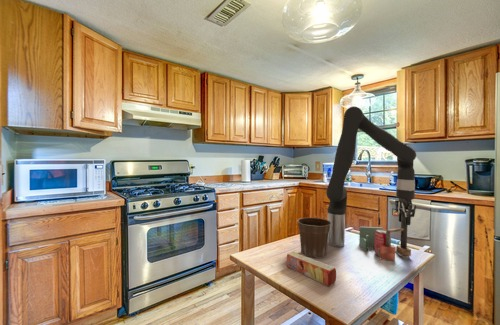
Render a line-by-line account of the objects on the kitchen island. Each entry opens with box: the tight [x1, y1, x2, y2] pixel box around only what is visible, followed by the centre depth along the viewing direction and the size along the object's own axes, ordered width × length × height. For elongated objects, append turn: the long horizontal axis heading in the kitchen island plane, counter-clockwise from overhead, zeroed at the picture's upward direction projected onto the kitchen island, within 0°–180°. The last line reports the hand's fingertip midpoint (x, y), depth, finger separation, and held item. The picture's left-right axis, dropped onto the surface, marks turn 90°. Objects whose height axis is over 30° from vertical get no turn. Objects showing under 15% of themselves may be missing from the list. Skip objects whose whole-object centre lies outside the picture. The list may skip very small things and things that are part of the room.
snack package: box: [285, 251, 337, 287], centre depth 96 cm, size 21×7×7 cm, turn 39°
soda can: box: [373, 229, 392, 257], centre depth 116 cm, size 7×7×12 cm
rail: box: [391, 244, 411, 259], centre depth 120 cm, size 3×15×1 cm, turn 175°
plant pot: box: [296, 217, 331, 259], centre depth 117 cm, size 16×16×16 cm
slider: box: [379, 211, 412, 261], centre depth 114 cm, size 15×8×22 cm, turn 85°
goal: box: [358, 226, 384, 252], centre depth 125 cm, size 12×10×10 cm
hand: (404, 223), depth 115 cm, fingers open, 5 cm apart
